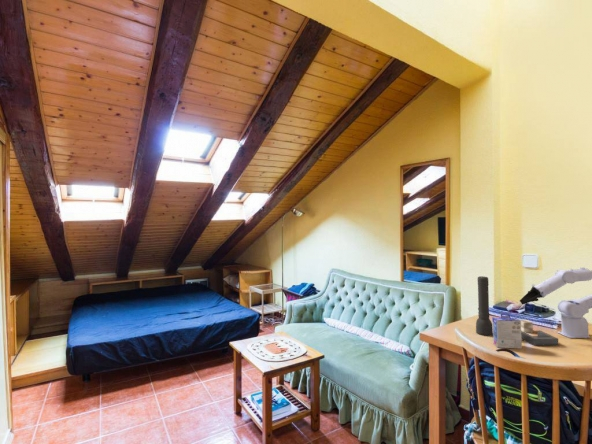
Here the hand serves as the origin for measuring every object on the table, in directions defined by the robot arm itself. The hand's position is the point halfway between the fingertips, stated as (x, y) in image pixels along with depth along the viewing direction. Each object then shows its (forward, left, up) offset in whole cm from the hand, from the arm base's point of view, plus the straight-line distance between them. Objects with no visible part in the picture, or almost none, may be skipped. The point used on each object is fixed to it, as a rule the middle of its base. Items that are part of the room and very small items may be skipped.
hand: (522, 301), depth 155 cm
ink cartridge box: (+17, +15, -16) cm, 28 cm away
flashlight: (+18, -1, -16) cm, 24 cm away
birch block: (-4, -4, -16) cm, 17 cm away
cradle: (0, +10, -16) cm, 19 cm away
